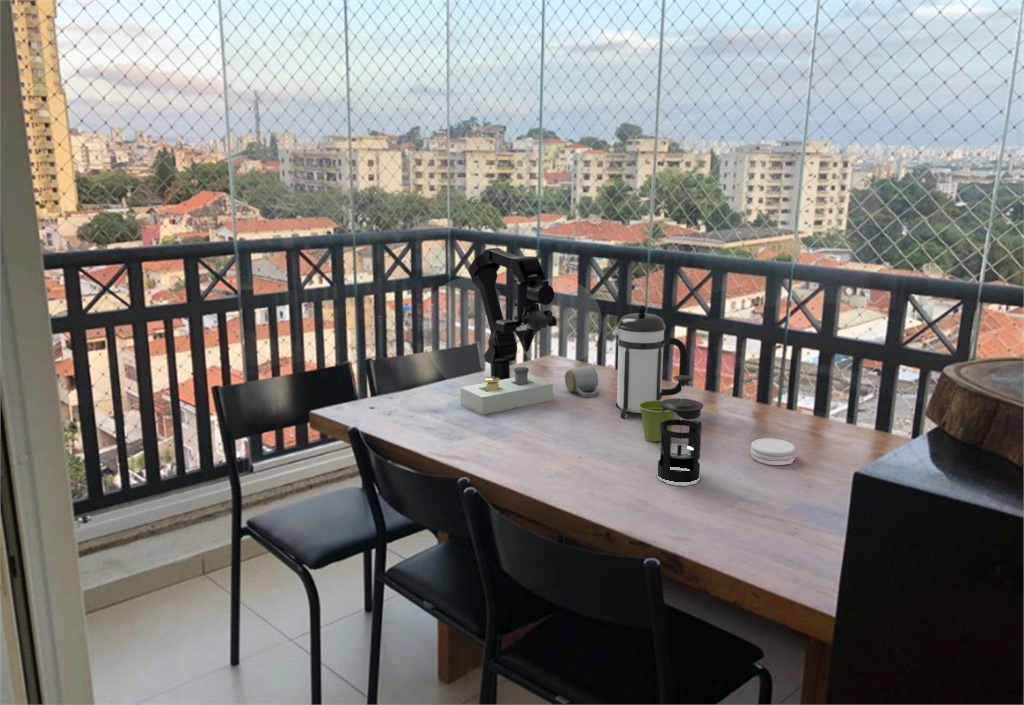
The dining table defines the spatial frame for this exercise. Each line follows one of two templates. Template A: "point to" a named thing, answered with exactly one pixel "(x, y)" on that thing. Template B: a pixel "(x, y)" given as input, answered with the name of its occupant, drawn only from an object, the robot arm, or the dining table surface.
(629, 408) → the coffee press
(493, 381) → the brass plug
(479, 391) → the block
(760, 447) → the coaster
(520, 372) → the graphite plug
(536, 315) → the robot arm
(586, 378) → the ceramic mug
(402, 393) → the dining table surface
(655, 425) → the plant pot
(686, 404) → the french press
